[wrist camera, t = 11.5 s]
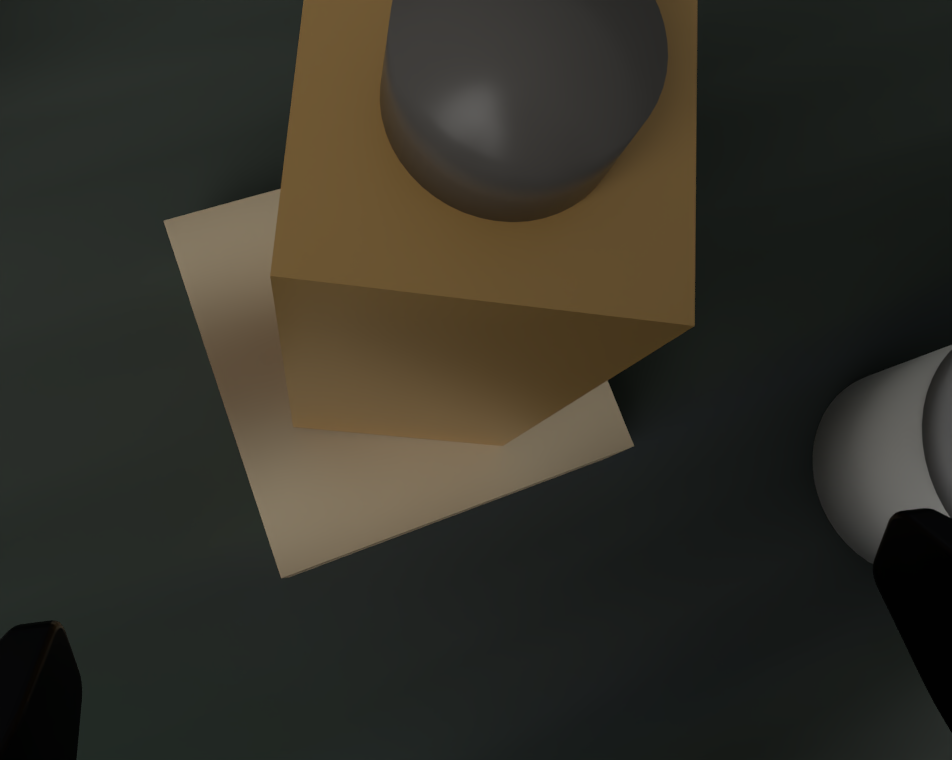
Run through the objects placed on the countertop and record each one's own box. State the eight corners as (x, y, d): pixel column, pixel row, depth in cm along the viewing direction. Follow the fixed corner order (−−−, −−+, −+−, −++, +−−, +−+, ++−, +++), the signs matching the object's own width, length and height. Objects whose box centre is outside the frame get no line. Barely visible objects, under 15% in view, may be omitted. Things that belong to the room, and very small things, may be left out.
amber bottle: (502, 446, 21) (756, 287, 9) (293, 426, 20) (262, 223, 8) (514, 251, 22) (753, -123, 10) (315, 226, 21) (316, -214, 9)
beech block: (599, 460, 24) (634, 446, 21) (288, 577, 22) (281, 578, 20) (486, 177, 26) (505, 126, 23) (184, 263, 24) (163, 220, 21)
